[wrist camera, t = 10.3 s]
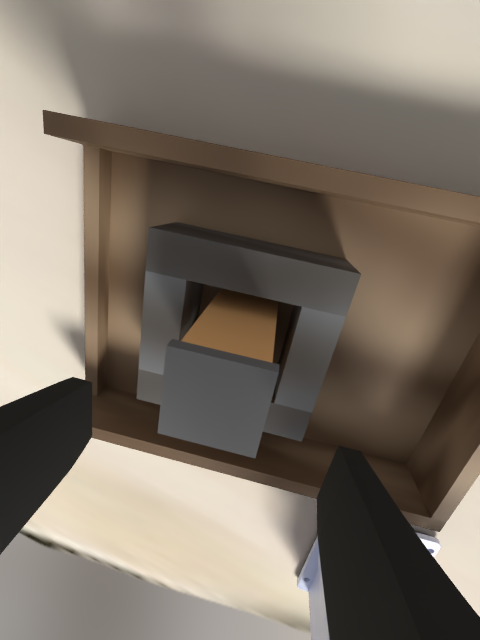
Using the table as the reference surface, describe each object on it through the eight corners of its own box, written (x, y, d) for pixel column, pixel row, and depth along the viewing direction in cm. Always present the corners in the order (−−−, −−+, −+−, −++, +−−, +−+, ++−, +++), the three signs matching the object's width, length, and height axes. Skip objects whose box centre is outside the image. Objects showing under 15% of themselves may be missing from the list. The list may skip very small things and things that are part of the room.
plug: (268, 353, 18) (255, 458, 11) (210, 339, 18) (157, 432, 11) (283, 296, 17) (278, 372, 9) (219, 282, 17) (166, 345, 10)
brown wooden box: (411, 471, 20) (439, 532, 16) (98, 389, 21) (59, 428, 18) (553, 222, 14) (648, 230, 10) (101, 131, 15) (42, 109, 12)
